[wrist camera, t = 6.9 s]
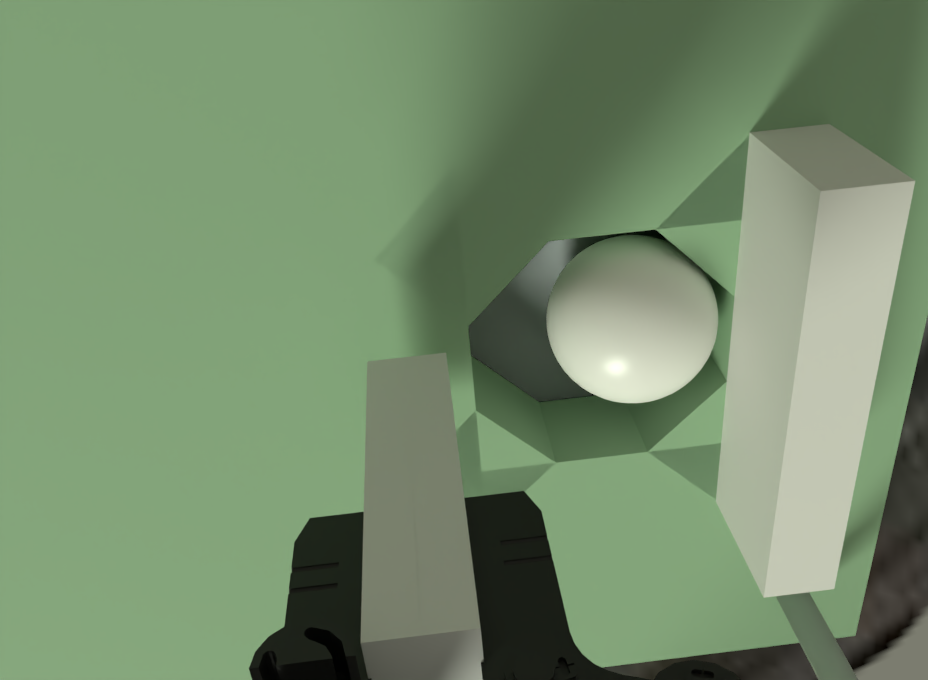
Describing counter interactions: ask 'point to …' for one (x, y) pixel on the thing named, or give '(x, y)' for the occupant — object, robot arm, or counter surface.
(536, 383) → the counter surface
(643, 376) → the ball
